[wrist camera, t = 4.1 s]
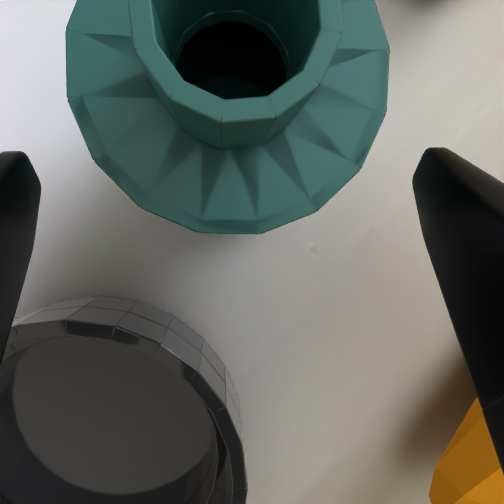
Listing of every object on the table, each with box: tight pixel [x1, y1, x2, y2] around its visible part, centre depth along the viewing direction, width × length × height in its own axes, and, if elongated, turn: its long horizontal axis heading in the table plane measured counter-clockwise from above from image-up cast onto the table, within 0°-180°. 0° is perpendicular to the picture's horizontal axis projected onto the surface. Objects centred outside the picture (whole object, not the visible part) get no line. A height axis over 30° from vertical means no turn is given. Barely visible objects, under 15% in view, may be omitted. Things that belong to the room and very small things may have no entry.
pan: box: [0, 296, 248, 504], centre depth 17 cm, size 13×13×4 cm
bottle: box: [66, 0, 390, 234], centre depth 12 cm, size 7×7×12 cm
